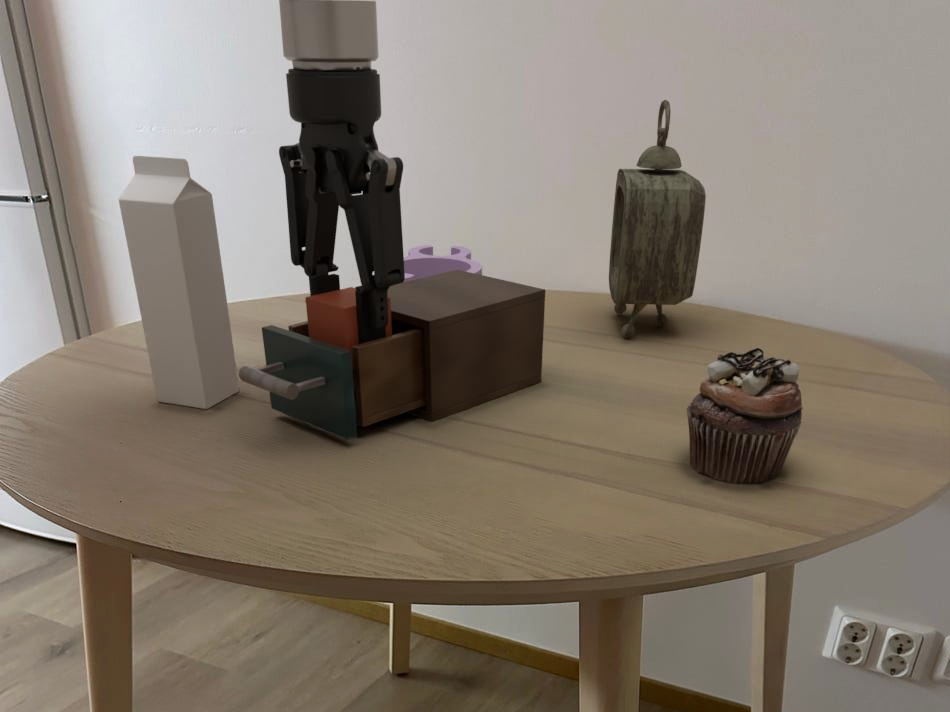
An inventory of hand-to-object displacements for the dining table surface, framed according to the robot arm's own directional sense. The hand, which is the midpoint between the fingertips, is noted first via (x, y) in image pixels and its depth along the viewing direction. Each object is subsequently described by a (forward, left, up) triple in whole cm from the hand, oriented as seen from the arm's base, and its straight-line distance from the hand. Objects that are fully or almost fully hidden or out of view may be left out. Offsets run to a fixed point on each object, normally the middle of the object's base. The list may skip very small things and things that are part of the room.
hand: (351, 353), depth 87 cm
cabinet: (0, +13, -6) cm, 14 cm away
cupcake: (+33, +16, -6) cm, 37 cm away
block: (0, 0, 0) cm, 0 cm away
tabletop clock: (+2, +47, -6) cm, 47 cm away
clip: (-20, +31, -6) cm, 37 cm away
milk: (-16, -7, -6) cm, 19 cm away
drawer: (0, 0, -5) cm, 5 cm away
